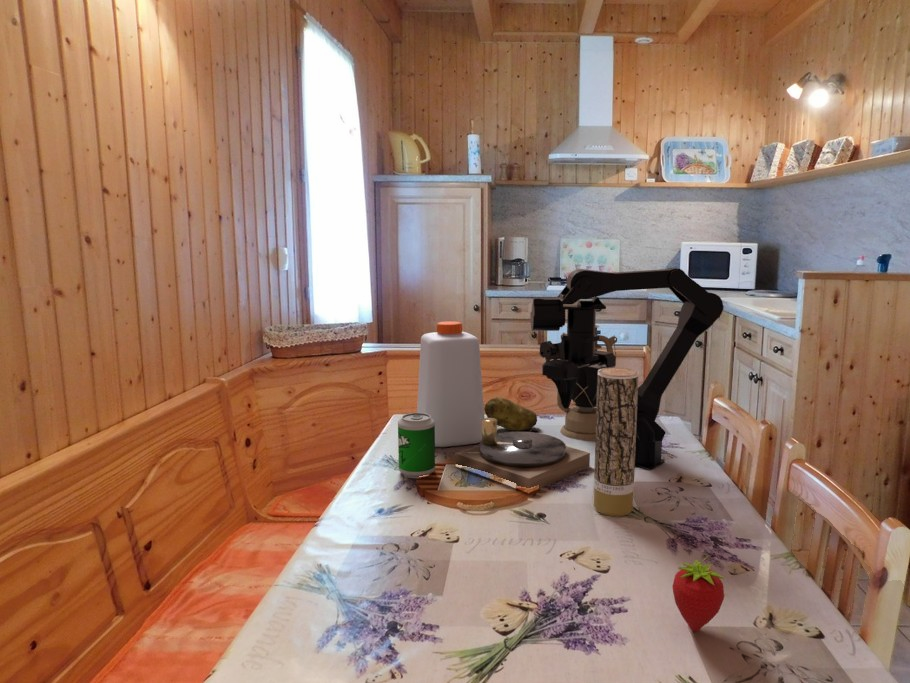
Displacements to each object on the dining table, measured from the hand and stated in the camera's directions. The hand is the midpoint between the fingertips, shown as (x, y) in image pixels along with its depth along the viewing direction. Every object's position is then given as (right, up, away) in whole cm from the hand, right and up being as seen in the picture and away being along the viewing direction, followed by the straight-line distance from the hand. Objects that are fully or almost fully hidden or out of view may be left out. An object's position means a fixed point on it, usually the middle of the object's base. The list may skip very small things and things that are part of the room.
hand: (579, 403), depth 133 cm
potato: (-12, -9, +26) cm, 30 cm away
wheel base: (-12, -13, 0) cm, 18 cm away
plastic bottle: (-27, -10, +20) cm, 35 cm away
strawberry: (+4, -23, -55) cm, 60 cm away
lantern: (+6, -10, +23) cm, 26 cm away
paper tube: (+2, -17, -21) cm, 27 cm away
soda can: (-34, -14, -3) cm, 37 cm away
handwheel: (-12, -10, 0) cm, 16 cm away
